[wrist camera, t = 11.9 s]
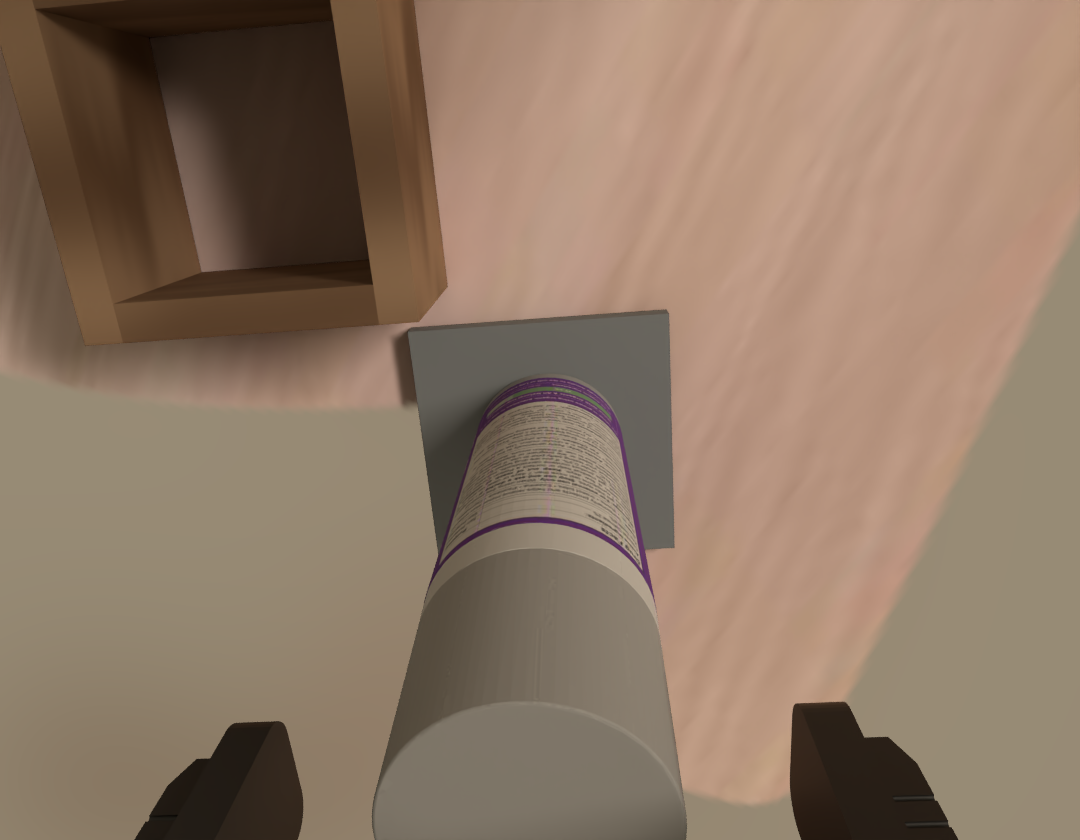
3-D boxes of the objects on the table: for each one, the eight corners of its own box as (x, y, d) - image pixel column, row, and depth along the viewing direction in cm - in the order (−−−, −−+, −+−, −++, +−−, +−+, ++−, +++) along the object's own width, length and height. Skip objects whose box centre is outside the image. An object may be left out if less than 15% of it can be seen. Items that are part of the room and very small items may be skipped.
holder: (105, 0, 22) (-23, -39, 17) (410, -28, 21) (366, -78, 16) (177, 306, 24) (85, 345, 20) (447, 286, 24) (418, 322, 19)
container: (583, 529, 26) (605, 989, 12) (454, 474, 25) (317, 887, 11) (648, 408, 25) (759, 772, 10) (511, 348, 24) (435, 643, 10)
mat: (411, 327, 24) (407, 331, 24) (666, 309, 24) (668, 313, 23) (441, 551, 27) (439, 560, 27) (672, 538, 27) (674, 547, 26)
